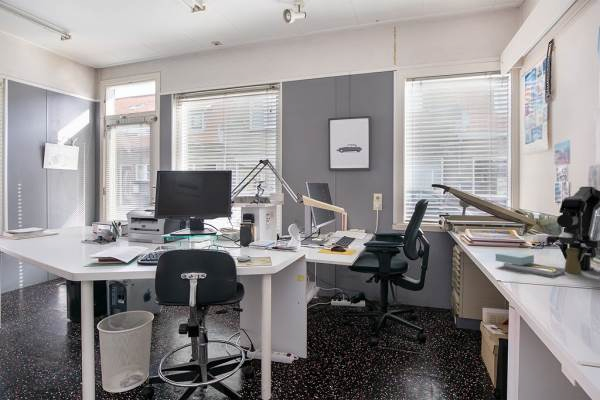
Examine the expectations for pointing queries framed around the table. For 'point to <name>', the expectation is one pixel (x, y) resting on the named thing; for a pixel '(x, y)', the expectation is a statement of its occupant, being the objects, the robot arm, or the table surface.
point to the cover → (515, 258)
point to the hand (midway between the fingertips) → (572, 260)
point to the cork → (572, 261)
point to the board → (536, 269)
